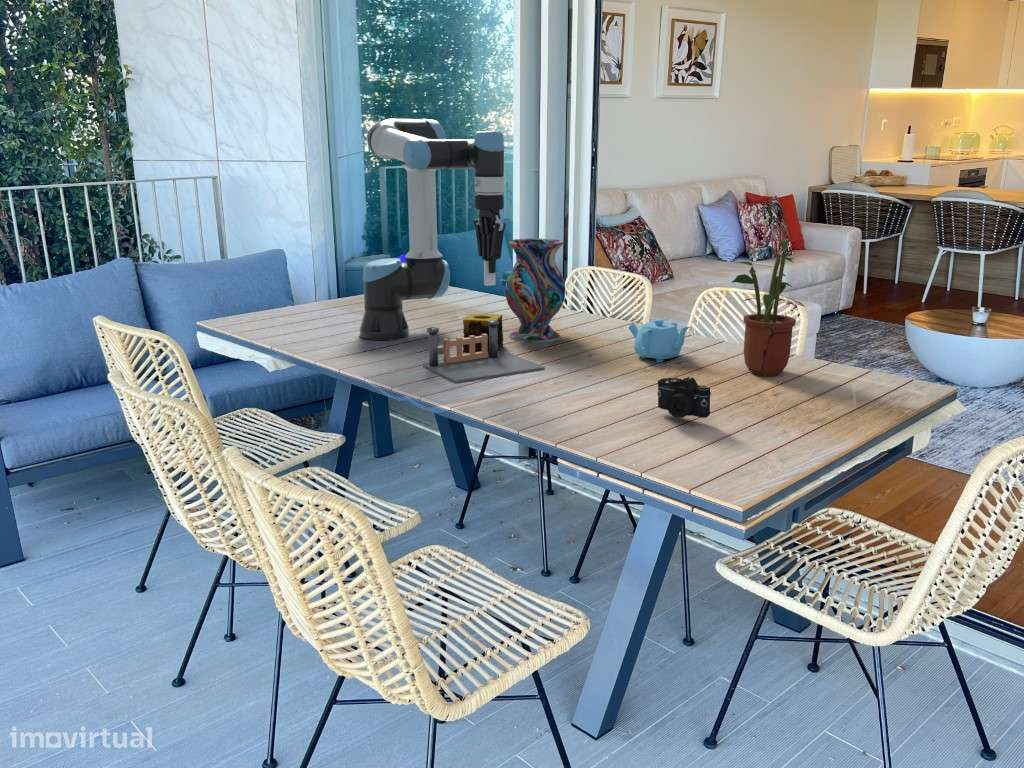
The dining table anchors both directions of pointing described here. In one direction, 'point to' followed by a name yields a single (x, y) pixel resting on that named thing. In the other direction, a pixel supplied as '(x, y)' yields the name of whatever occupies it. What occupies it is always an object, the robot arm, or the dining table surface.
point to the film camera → (684, 397)
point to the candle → (481, 329)
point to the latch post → (434, 346)
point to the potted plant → (767, 324)
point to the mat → (484, 368)
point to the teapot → (658, 340)
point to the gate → (472, 354)
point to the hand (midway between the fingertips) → (489, 284)
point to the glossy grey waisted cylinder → (493, 338)
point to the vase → (535, 289)
